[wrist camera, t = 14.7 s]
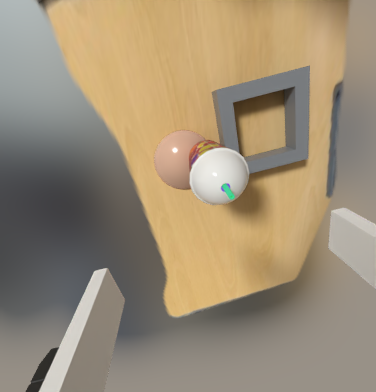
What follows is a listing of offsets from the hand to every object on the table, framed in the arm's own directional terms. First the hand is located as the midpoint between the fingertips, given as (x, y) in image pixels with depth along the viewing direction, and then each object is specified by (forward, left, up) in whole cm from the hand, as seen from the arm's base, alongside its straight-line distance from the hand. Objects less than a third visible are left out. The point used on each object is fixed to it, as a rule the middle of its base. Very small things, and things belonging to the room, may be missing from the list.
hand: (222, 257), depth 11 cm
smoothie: (+1, +4, -30) cm, 31 cm away
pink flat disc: (+1, 0, -31) cm, 31 cm away
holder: (-2, +16, -31) cm, 35 cm away
